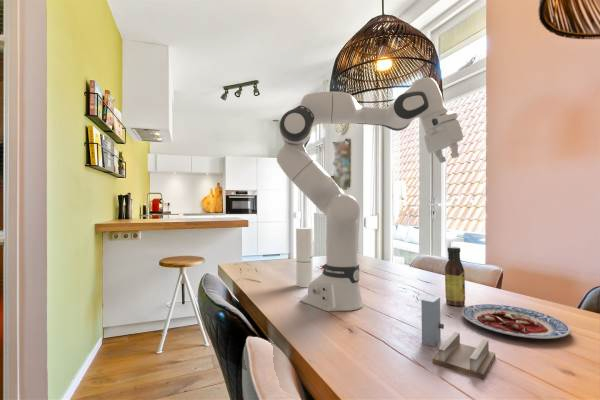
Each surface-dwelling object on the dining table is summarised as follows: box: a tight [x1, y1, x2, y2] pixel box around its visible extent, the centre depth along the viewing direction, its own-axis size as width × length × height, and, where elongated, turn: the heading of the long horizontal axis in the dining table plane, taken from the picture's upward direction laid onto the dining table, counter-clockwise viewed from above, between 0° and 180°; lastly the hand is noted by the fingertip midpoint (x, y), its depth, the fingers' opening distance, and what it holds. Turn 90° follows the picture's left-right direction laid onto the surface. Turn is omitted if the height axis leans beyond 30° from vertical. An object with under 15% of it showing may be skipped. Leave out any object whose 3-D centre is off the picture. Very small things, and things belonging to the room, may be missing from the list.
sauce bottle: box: [444, 246, 466, 307], centre depth 111 cm, size 6×6×20 cm
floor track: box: [432, 331, 496, 380], centre depth 71 cm, size 10×12×4 cm
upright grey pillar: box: [421, 294, 445, 347], centre depth 81 cm, size 4×5×11 cm
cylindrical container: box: [295, 227, 314, 288], centre depth 137 cm, size 7×7×25 cm
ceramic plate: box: [461, 303, 571, 340], centre depth 91 cm, size 26×26×3 cm
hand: (449, 160), depth 110 cm, fingers open, 8 cm apart
